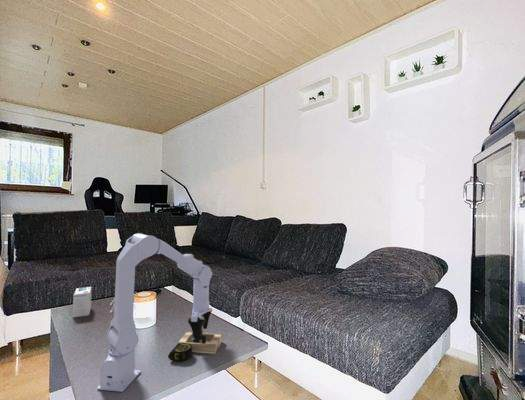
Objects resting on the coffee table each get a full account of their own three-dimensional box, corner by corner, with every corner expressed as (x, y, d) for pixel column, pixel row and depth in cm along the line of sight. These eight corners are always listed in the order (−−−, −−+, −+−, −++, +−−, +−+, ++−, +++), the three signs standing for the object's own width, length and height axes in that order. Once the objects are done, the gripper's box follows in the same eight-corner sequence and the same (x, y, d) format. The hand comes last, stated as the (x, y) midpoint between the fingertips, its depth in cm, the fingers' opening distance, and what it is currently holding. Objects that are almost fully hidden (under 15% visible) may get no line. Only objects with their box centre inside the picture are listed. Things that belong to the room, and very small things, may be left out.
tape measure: (177, 351, 100) (177, 341, 100) (195, 353, 99) (195, 343, 99) (167, 362, 94) (167, 351, 94) (186, 364, 93) (186, 353, 93)
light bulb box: (75, 309, 137) (75, 288, 137) (91, 307, 140) (91, 286, 140) (72, 318, 128) (72, 294, 128) (89, 315, 131) (90, 292, 131)
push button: (194, 350, 100) (194, 322, 100) (185, 345, 103) (185, 318, 103) (208, 343, 105) (209, 317, 105) (199, 339, 108) (200, 313, 108)
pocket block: (215, 353, 99) (215, 345, 99) (177, 350, 101) (177, 342, 101) (221, 341, 107) (221, 334, 108) (186, 339, 109) (187, 331, 109)
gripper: (205, 304, 97) (204, 343, 96) (216, 291, 111) (216, 325, 111) (185, 303, 97) (185, 342, 97) (199, 290, 112) (199, 324, 112)
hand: (200, 333), depth 104 cm, fingers open, 7 cm apart
